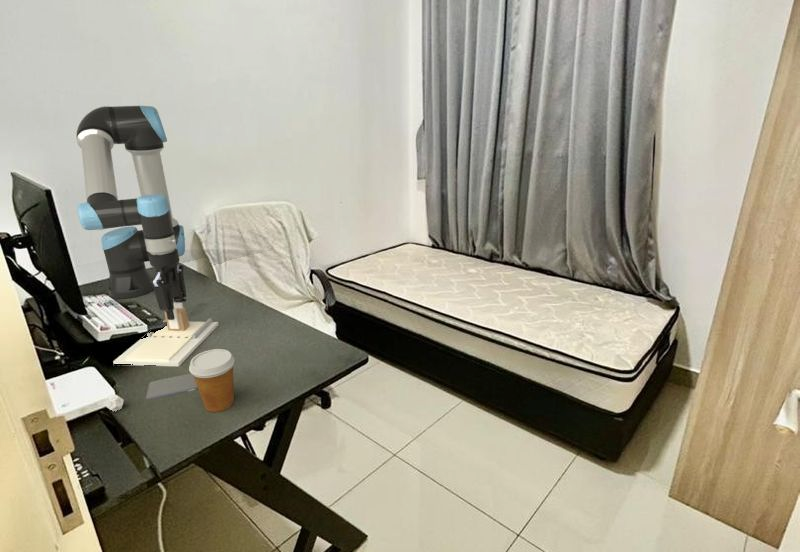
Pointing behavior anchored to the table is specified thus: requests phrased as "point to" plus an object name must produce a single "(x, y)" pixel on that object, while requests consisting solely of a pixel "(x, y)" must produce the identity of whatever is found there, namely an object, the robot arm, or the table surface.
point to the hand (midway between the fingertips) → (178, 325)
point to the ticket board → (165, 348)
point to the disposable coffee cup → (214, 378)
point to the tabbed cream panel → (185, 326)
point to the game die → (114, 403)
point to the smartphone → (171, 386)
